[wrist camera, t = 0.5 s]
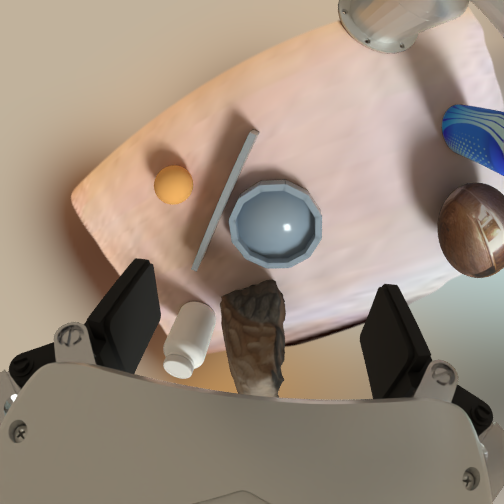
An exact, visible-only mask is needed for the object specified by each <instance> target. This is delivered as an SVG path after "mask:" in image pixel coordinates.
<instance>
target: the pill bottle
mask: <svg viewBox="0 0 504 504" xmlns="http://www.w3.org/2000/svg"><path fill="white" fill-rule="evenodd" d="M215 324H216V316H215V313H214V311H213V310H212V309H211V308H210V307H209V306H207V305H205V304H203V303H200V302H188V303H186V304H184V305H183V306H182V308H181V309H180V311H179V313H178V315H177V317H176V320H175V322H174V324H173V326H172V328H171V330H170V333H169V335H168V337H167V339H166V341H165V344H164V354H165V356H166V359H165V361H164V364H163V365H164V369H165V370H166V371H167V372H168V373H169V374H171V375H172V376H175V377H177V378H188V377H190V376H191V375H192V372H193V369H194V368H197V367H199V366H200V365H201V364H202V363H203V361H204V359H205V356H206V353H207V350H208V346H209V343H210V340H211V337H212V334H213V330H214V327H215Z"/></svg>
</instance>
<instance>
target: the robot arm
mask: <svg viewBox="0 0 504 504" xmlns="http://www.w3.org/2000/svg"><path fill="white" fill-rule="evenodd" d="M470 1H471V2H472V3H473V4H474V5H475V6H476V7H477V8H478V9H480V10H481V11H482V13H483V14H484V15H485V16H486V17H487V18H488V19H489V20H490V22H491V23H492V24H493V25H494V26H495V28H496V29H497V30H498V31H499V33H500V34H501V35H502V36H503V38H504V0H470ZM468 4H469V0H339V4H338V13H339V18H340V20H341V22H342V25H343V26H344V28H345V29H346V31H347V32H348V33H349V34H350V35H351V36H352V37H353V38H354V39H355V40H356V41H357V42H359V43H360V44H362V45H363V46H365V47H367V48H369V49H371V50H373V51H377V52H380V53H387V54H390V53H398V52H402V51H405V50H407V49H408V48H410V47H411V46H412V45H413V44H414V42H415V41H416V39H417V36H418V33H420V32H423V31H425V30H428V29H430V28H433V27H435V26H438V25H441V24H443V23H446V22H449V21H451V20H454V19H456V18H458V17H460V16H461V15H462V14H463V13H464V12H465V10H466V8H467V7H468ZM342 12H345V14H344V13H342ZM365 41H367V42H368V43H366V42H365ZM400 46H401V47H400ZM160 318H161V312H160V306H159V300H158V294H157V287H156V280H155V273H154V267H153V264H150V262H149V260H145V259H137V258H136V259H134V260H133V262H132V263H131V264H130V265H129V266H128V268H127V269H126V270H125V271H124V272H123V274H122V275H121V276H120V277H119V279H118V280H117V281H116V282H115V284H114V285H113V286H112V287H111V289H110V290H109V291H108V292H107V294H106V295H105V296H104V297H103V299H102V300H101V301H100V303H99V304H98V305H97V307H96V308H95V309H94V311H93V312H92V313H91V315H90V316H89V318H88V319H87V321H86V323H85V324H84V325H83V324H81V323H79V322H71V323H67V324H65V325H63V326H61V327H60V328H59V329H58V330H57V331H56V333H55V335H54V342H53V343H50V344H47V345H45V346H42V347H39V348H36V349H33V350H30V351H27V352H24V353H21V354H19V355H17V356H16V357H15V358H14V359H13V360H12V361H11V364H10V366H9V371H8V372H6V371H5V370H4V371H2V372H0V504H493V503H492V502H493V501H494V499H495V498H496V497H497V495H498V494H499V492H500V491H501V489H502V488H503V486H504V430H503V429H502V428H501V426H500V425H499V424H498V423H497V422H495V423H494V424H493V423H492V421H493V414H492V411H491V408H490V407H489V406H488V405H487V404H486V403H485V402H484V401H482V400H480V399H479V398H477V397H476V396H474V395H473V394H471V393H470V392H468V391H466V390H465V389H463V388H462V387H460V386H459V385H457V383H458V374H457V372H456V370H455V368H454V367H453V366H452V365H451V364H449V363H448V362H446V361H443V360H434V361H432V359H431V353H430V351H429V349H428V346H427V344H426V342H425V340H424V338H423V336H422V334H421V331H420V329H419V327H418V325H417V323H416V321H415V319H414V317H413V315H412V313H411V311H410V309H409V307H408V305H407V303H406V301H405V299H404V297H403V295H402V293H401V291H400V289H399V287H398V286H397V285H392V284H384V285H383V286H382V287H379V288H378V291H377V293H376V296H375V299H374V301H373V304H372V307H371V309H370V312H369V315H368V317H367V320H366V322H365V325H364V327H363V330H362V332H361V334H360V343H361V348H362V352H363V355H364V360H365V364H366V368H367V373H368V377H369V382H370V386H371V391H372V396H373V399H361V400H314V399H291V398H276V397H264V396H254V395H245V394H236V393H229V392H222V391H215V390H209V389H203V388H197V387H191V386H186V385H180V384H175V383H170V382H166V381H161V380H157V379H153V378H148V377H144V376H139V375H135V374H134V373H135V371H136V369H137V366H138V364H139V362H140V360H141V358H142V356H143V354H144V352H145V349H146V348H147V346H148V343H149V341H150V339H151V337H152V335H153V333H154V331H155V329H156V327H157V325H158V323H159V321H160Z"/></svg>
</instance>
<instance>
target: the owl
mask: <svg viewBox="0 0 504 504" xmlns="http://www.w3.org/2000/svg"><path fill="white" fill-rule="evenodd" d="M221 298H222V301H221V303H220V307H221V315H222V322H221V324H222V330H223V336H224V341H225V347H226V351H227V357H228V361H229V367H230V372H231V375H232V377H233V379H234V382H235V386H236V388H237V392H238V394H245V395H254V396H264V397H276V398H279V396H278V390H279V388H280V386H281V384H282V382H283V381H284V378H283V376H282V373H281V365H282V363H283V362H284V354H285V351H284V348H285V335H284V329H283V322H284V320H285V314H286V313H285V312H286V311H285V304H284V302H285V301H284V299H283V294H282V293H281V292H280V291H279V289H278V287H277V285H276V281H274V280H267V281H264V282H262V283H260V284H258V285H251V286H250V287H249V288H245V289H243V290H236V291H233V292H231V293H230V294H228V295H225V296H222V297H221Z"/></svg>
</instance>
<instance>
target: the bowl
mask: <svg viewBox="0 0 504 504" xmlns="http://www.w3.org/2000/svg"><path fill="white" fill-rule="evenodd" d="M229 226H230V233H231V240H232V243H233V244H234V245H235V246H236V248H237V249H238V250H239V251H240V253H241V254H242V255H243V256H244V258H245V259H246V260H249V261H251V262H253V263H255V264H258V265H260V266H262V267H264V268H289V267H292V266H294V265H296V264H298V263H300V262H302V261H304V260H306V259H307V258H309V257H310V256H311V255H312V253H313V251H314V250H315V248H316V247H317V245H318V244H319V242H320V241H321V238H322V215H321V212H320V209H319V207H318V206H317V204H316V203H315V201H314V200H313V198H312V196H311V195H310V193H309V192H308V191H307V190H306V189H304V188H302V187H300V186H298V185H296V184H294V183H292V182H290V181H288V180H266V181H260V182H258V183H256V184H255V185H253V186H252V187H250V188H249V189H247V190H246V191H244V192H243V193H241V194H240V196H239V198H238V201H237V203H236V205H235V207H234V209H233V211H232V214H231V216H230V218H229Z"/></svg>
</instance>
